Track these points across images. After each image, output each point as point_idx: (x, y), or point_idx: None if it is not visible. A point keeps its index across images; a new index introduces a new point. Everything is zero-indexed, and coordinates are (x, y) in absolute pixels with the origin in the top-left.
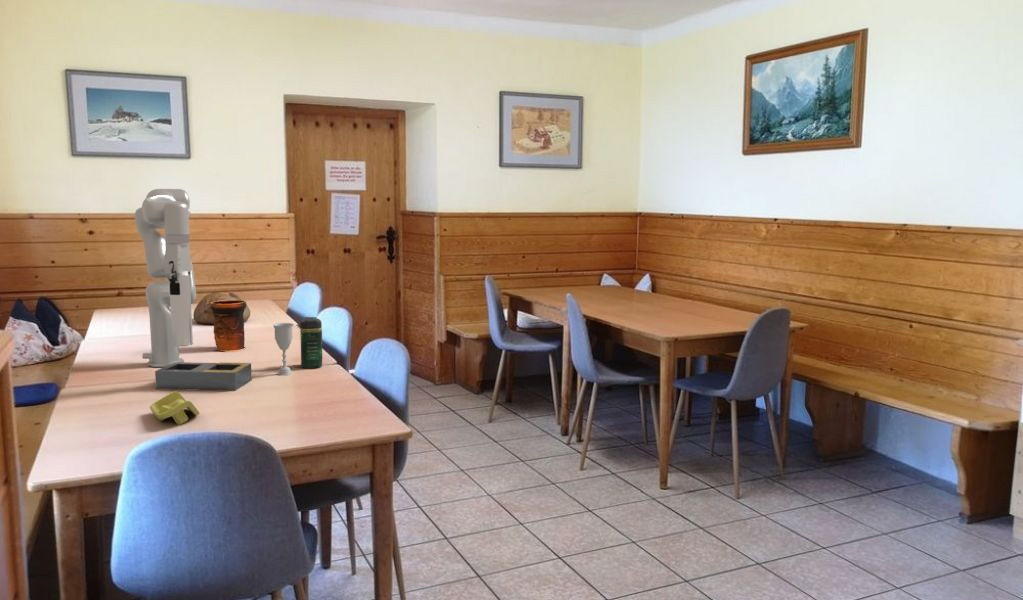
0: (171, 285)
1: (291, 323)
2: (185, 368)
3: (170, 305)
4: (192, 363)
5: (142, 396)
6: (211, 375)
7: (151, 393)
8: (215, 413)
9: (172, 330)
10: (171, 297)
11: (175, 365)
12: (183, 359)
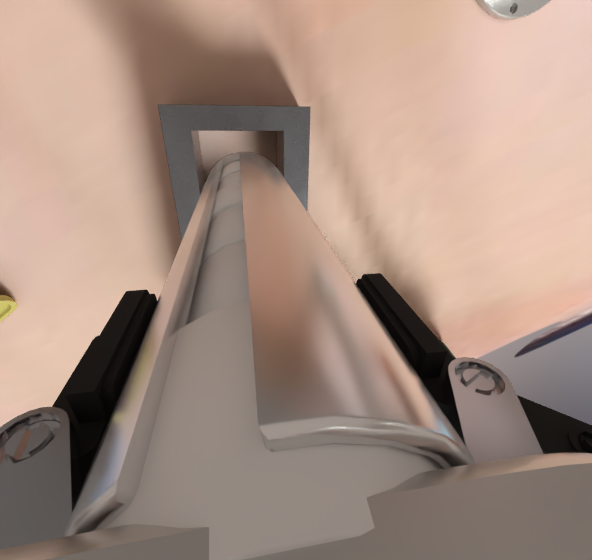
0: (60, 402)
1: None
2: (282, 157)
3: (203, 211)
4: (294, 180)
5: (72, 108)
6: None
7: (115, 119)
8: (12, 358)
9: (207, 181)
10: (172, 265)
11: (268, 130)
12: (539, 8)
